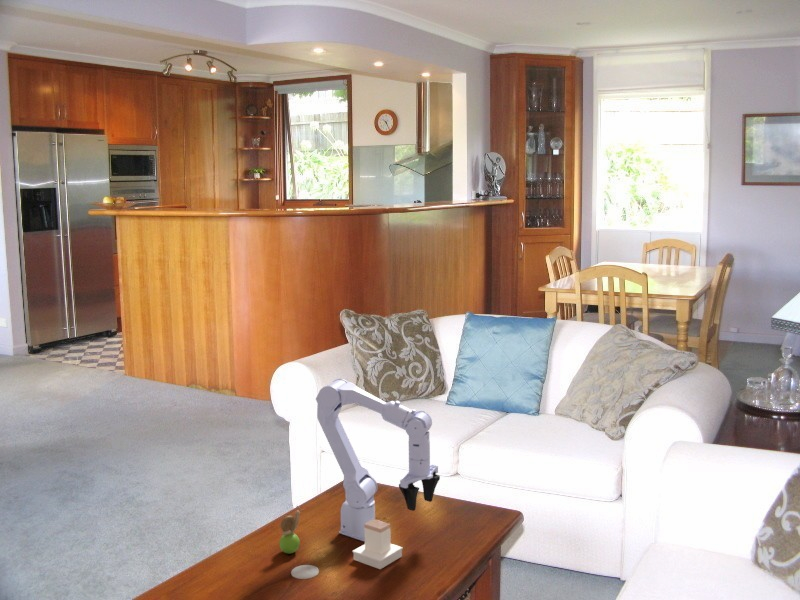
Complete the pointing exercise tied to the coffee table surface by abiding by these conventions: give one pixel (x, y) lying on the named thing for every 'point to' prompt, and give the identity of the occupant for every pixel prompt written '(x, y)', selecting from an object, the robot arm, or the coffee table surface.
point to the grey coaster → (305, 571)
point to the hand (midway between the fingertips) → (419, 505)
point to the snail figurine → (289, 533)
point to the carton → (377, 536)
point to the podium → (377, 556)
